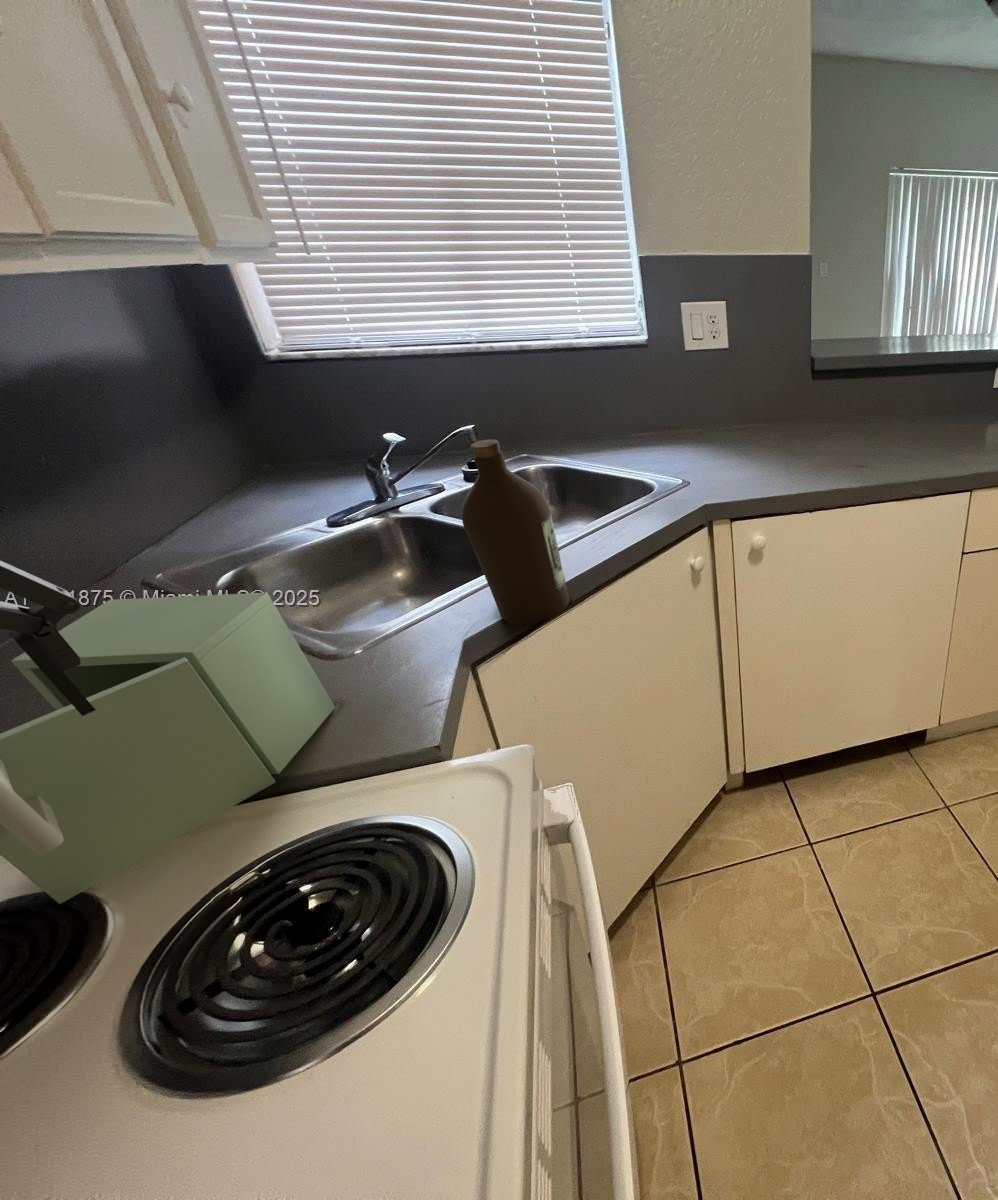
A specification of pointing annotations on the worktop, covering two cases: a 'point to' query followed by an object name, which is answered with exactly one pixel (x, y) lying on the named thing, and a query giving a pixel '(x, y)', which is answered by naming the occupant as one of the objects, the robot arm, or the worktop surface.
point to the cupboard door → (119, 778)
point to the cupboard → (203, 662)
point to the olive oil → (513, 540)
